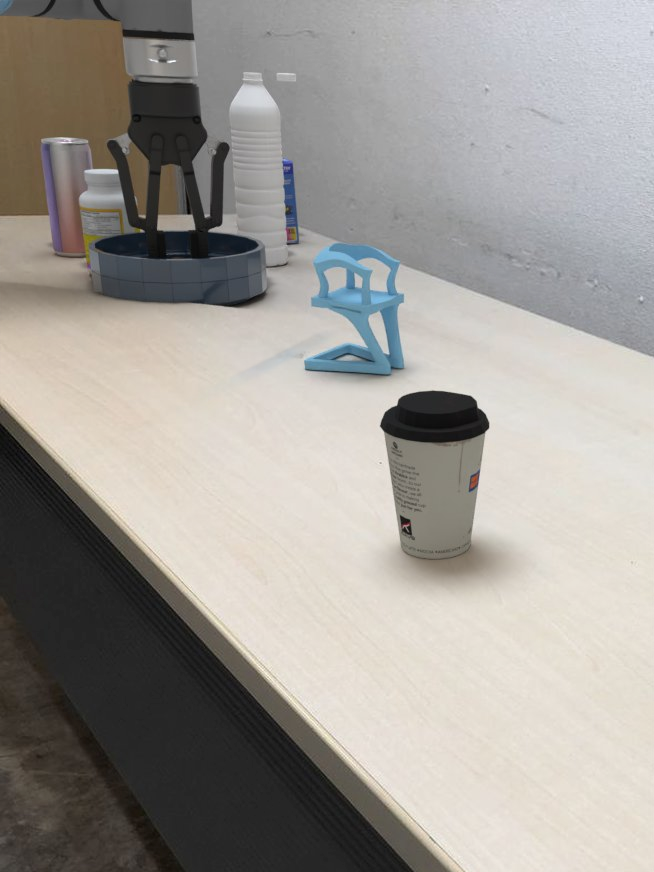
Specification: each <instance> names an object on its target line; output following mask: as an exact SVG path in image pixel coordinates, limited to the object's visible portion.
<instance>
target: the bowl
mask: <svg viewBox="0 0 654 872" xmlns="http://www.w3.org/2000/svg"><path fill="white" fill-rule="evenodd" d="M189 230H190V229H188V230H187V229H168V230H167V229H165V230H163V232H164V235H165V246H166V256H167V259H153V258H150V257H149V255H148V248H147V238H146V233H145V232H144V231H143V230H141V231H140V232H130V233H123V234H115V235H110V236H106V237H102V238H98V239H96V240H94V241H92V242H90V243H89V244H88V247H89V257H90V265H91V274H92V275H91V274H90V275H91V282H92V290H93V291H92V292H94V293H100V294H101V295H103V296H107V297H110V298H116V299H119V300H125V301H126V300H128V301H136V302H144V303H145V302H146V303H173V304H176V303H178V304H179V303H191V304H198V305H207V306H217V307H227V306H233V305H238V304H241V303H244V302H248V301H249V300H251V299H252V298H254V297H256V296H259V295H261V294H263V293H265V291H266V290H267V289H268V275H267V274H268V273H267V266H266V255H265V245H264V244H263V242H262V241H260V240H257V239H255V238H252V237H249V236H243V235H238V234H237V233H232V232H223V231H212V230H209V231H208V233H207V239H208V253H209V255H208V258H200V259H191V254H190V242H189ZM173 257H181V258H183V259H171V258H173Z"/></svg>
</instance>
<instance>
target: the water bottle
mask: <svg viewBox="0 0 654 872" xmlns="http://www.w3.org/2000/svg"><path fill="white" fill-rule="evenodd" d="M242 74H243V75H242V77H243V78H241V81H242V85H241V87H240V88H239V90H238V91H237V93H236V95H235V96H234V98H233V99H232V100H231V103H230V105H229V110H228V120H229V126H230V135H231V137H230V140H231V148H232V149H231V154H232V166H233V168H232V172H233V175H232V176H233V184H234V188H233V189H234V191H233V192H234V199H235V212H236V227H237V232H236V234H238V235H243V236H249V237H252V238H255V239H257V240H260V241H262V242H263V244H264V245H265V255H266V268H268V267H277V266H284V265H286V264H287V263H289V248H288V247H289V246H288V245H287V244H288V243H287V232H286V229H285V228H286V216H285V203H284V200H285V192H284V188H283V185H284V175H283V169H282V167H283V163H282V161H283V158H284V157H283V145H282V142H283V139H282V137H281V136H282V131H281V130H282V118H281V117H282V116H281V112H280V108H279V106H278V104H277V103H276V101H275V100H274V98H273V97H272V96H271V94H270V93H269V91H268V90H267V88H266V87H265V85H264V79H263V74H262V72H249V71H244V72H243V73H242ZM276 81H278V82H289V83H290V82H291V83H292V82H293V83H294V82H295V83H296V82H297V74H296V73H292V72H291V73H289V72H277V73H276ZM286 243H287V244H286Z"/></svg>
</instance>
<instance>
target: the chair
mask: <svg viewBox="0 0 654 872" xmlns="http://www.w3.org/2000/svg"><path fill="white" fill-rule="evenodd" d="M365 259H374V260H376V261H378V262H380V263H381V264H383V265H385V266H386V267H388V268H389V269H390V271H389V274H388V276H387V279H386V290H387V291H380V290H373V289H371V277H372V273H373V270H374V269H371V268H369V267H366V266H365V265H363V264H362V263H361V262H359V261H361V260H365ZM401 262H402V261H401V260H398V259H395V258H393V257H392V256H390V255H388V254H387V253H386V252H385V251H383V250H380V249H378V248H376V247H374V246H370V245H366V244H349V243H344V242H334V243H332V244H330V245H327V246H326V247H324V248H323V249H322V250H321V251H320V252H319V253H318V254H317V255H316V256H315V257H314V259H313V260H312V263H313V266H314V269H315V273H316V275H317V278H318V281H319V291H318V295H313V296H310V300H311V301H310V303H311V307H314V308H321V309H328V310H329V311H332V312H335V313H336V314H339V315H341V316H342V317H344V318H346V319H347V320H348V322H350V323H351V324H352V325H353V327H354V328H355V329H356V331H357V333H358V334H359V336H360V337H361V339H362V340H363V342H364V345H366V346H363V345H360V344H356V343H352V342H345V343H343V344H340V345H337V346H335V347H332V348H330V349H328V350H325V351H323V352H320V353H317V354H315V355H312V356H310V357H308V358H305V359H303V364H304V369H305V370H310V371H311V370H313V371H328V372H343V373H344V372H346V373H364V374H375V375H391V374H392V368H393V369H404V368H405V361H404V354H403V349H402V343H401V336H400V329H399V319H398V309H399V306H400V305H401V304H404V303H405V293H401V292H398V291H397V288H396V278H397V277H396V276H397V274H398V270H399V267H400V264H401ZM332 268H333V269H334V268H341V269H345V270H346V271H345V273H346V280H345V282H346V283H345V286H343V287H340V288H338V289H335V290H334V291H330V285H329V281H328V279H327V276H326V274H325V272H326V271H327V270H329V269H332ZM355 275H357V276H359V277H360V278H361V279H362V283H361V287H360V286H356V277H355ZM376 313H380V316H381V318H382V321H383V325H384V326H383V327H384V329H385V335H386V341H387V347H388V348H387V349H388V353H385V352H384V351H383V349H382V347H381V345H380V344H379V342H378V340H377V338H376V336H375V334H374V331H373V329H372V327H371V325H370V322H369V318H370V316H371V315H374V314H376ZM345 354H352V355H355V356H357V357H360V358H363V359H366V360H368V361H359V360H340V359H335V358H338V357H340V356H344V355H345Z"/></svg>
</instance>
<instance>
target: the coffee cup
mask: <svg viewBox="0 0 654 872" xmlns="http://www.w3.org/2000/svg"><path fill="white" fill-rule="evenodd" d="M379 428H381V430H382V431H383V434H384V441H385V448H386V453H387V461H388V467H389V474H390V481H391V482H390V483H391V487H392V489H391V490H392V495H393V501H394V509H395V515H396V522H397V529H398V535H399V541H400V547H401V548H402V551H403V552H405V553H407V554H408V555H410V556H413V557H416V558H420V559H427V560H433V559H434V560H441V559H448V558H453V557H456V556H460V555H462V554H463V553H465V552H467V551H468V550H469V548H470V547H471V542H472V533H473V526H474V519H475V511H476V506H477V505H476V504H477V497H478V491H479V483H480V477H481V476H480V475H481V468H482V460H483V454H484V447H485V441H486V440H485V439H486V433H487V432H488V430H489V429H490V420H489V419H488V416H487V413H485V411H483V410H482V409H481V408H479V406H478V401H477V400H476V398H474V396H472V395H469V394H464V393H458V392H452V391H445V390H423V391H415V392H410V393H406V394H404V395H402V396H400V397H399V398H398V400H397V404H396V405H394V406H391V407H390V408H388V409H387V410H386V411H385V412H384V413H383V416H382V418H381V420H380V424H379Z"/></svg>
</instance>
